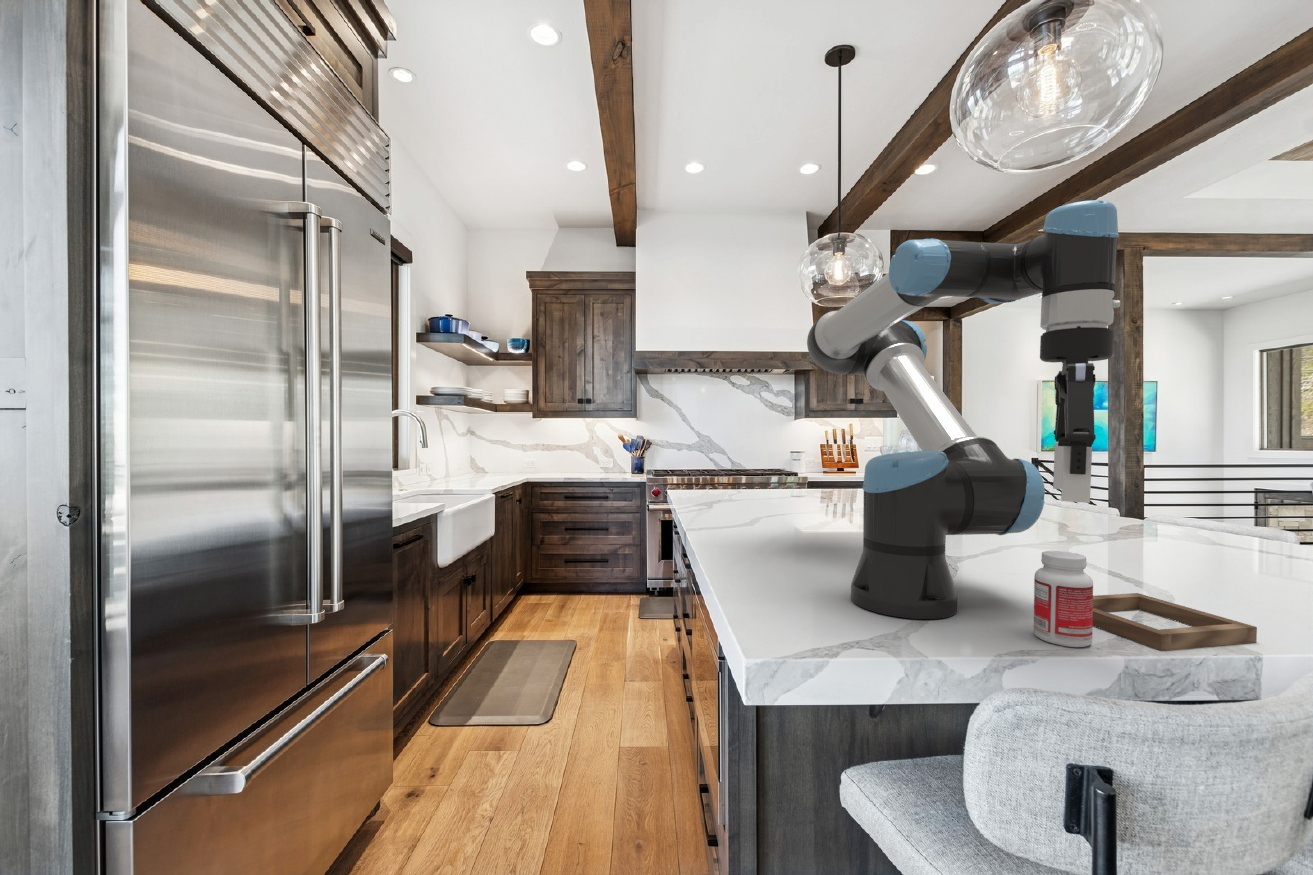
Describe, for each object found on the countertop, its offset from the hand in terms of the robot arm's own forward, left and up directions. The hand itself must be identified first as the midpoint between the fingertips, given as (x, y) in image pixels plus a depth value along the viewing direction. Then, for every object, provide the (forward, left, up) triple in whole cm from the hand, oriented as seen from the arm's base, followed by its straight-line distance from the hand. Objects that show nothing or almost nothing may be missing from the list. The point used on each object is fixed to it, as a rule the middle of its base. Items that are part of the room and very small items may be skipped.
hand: (1069, 495), depth 74 cm
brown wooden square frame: (+9, +12, -19) cm, 24 cm away
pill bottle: (-1, -1, -19) cm, 19 cm away
